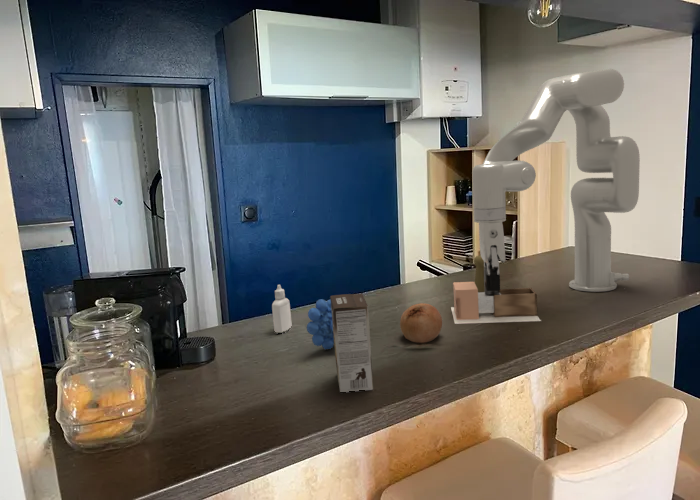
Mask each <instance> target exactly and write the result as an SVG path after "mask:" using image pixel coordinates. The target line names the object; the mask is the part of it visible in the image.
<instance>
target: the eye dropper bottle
mask: <svg viewBox="0 0 700 500" xmlns="http://www.w3.org/2000/svg"><path fill="white" fill-rule="evenodd" d="M274 298H275V300H274V301H272V304H271V310H272V320H273V322H272V323H273V329H274V331H275V332H283V331H286V330H288V329H289V328H291V326H292V327H293V324H292V313H291V304H290V300H289V299H288V298H287V297H286V294H285V289H284V288H282V286H281V284H277V288H276V290H274ZM291 329H292V328H291ZM275 332H274V333H275Z"/></svg>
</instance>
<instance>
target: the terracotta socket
mask: <svg viewBox="0 0 700 500" xmlns="http://www.w3.org/2000/svg"><path fill="white" fill-rule="evenodd" d="M452 287H453V288H452V289H453V307H454V311H455V315H456V319H457V320H465V319H479V309H478V289H477V287H476V284H475V281H460V282H459V281H457V282H455V281H454V282H453V283H452Z"/></svg>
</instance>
